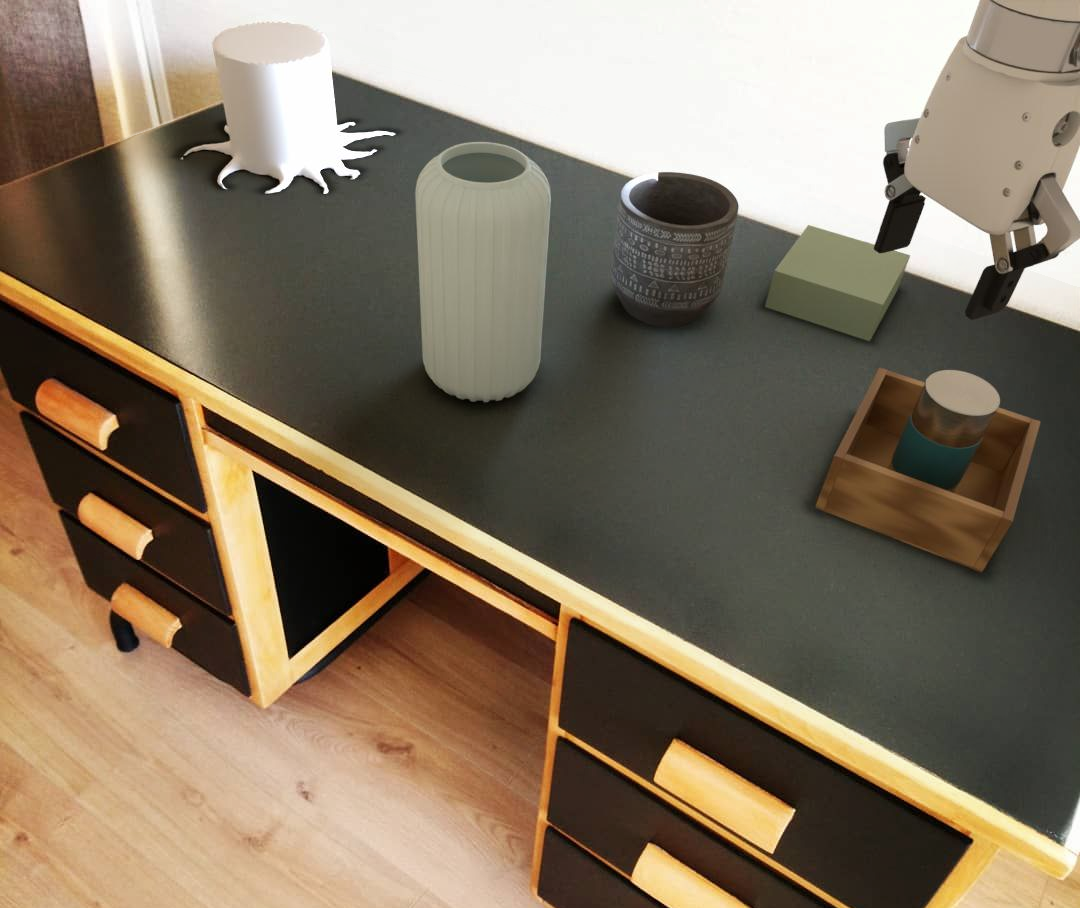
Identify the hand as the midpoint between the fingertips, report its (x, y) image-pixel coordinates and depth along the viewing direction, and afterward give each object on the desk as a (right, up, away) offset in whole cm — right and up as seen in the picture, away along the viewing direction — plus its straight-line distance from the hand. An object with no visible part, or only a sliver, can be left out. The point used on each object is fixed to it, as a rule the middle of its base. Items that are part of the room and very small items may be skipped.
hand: (934, 280), depth 70 cm
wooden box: (+5, -15, +15) cm, 22 cm away
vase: (-35, -3, +24) cm, 43 cm away
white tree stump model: (-64, +32, +55) cm, 90 cm away
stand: (+4, +8, +37) cm, 38 cm away
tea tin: (+5, -15, +15) cm, 22 cm away
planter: (-16, +6, +34) cm, 38 cm away
